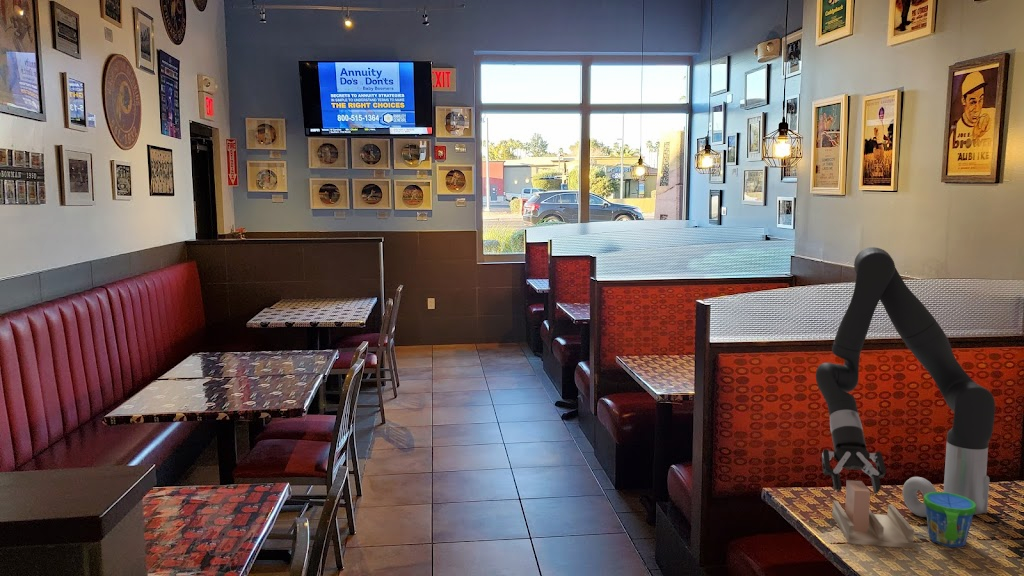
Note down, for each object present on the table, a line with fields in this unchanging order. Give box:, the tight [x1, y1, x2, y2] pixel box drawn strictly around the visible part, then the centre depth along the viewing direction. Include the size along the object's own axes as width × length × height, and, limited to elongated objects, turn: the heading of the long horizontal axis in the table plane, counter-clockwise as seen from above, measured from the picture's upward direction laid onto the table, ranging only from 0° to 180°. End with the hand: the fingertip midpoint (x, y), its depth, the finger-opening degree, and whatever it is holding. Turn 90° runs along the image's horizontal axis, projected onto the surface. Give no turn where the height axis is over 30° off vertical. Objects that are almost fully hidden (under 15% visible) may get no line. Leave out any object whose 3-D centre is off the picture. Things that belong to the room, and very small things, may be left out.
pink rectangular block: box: [844, 479, 871, 532], centre depth 182 cm, size 4×7×10 cm, turn 171°
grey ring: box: [902, 476, 938, 518], centre depth 191 cm, size 10×4×10 cm, turn 18°
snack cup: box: [923, 491, 976, 548], centre depth 176 cm, size 16×10×10 cm
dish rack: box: [831, 500, 915, 549], centre depth 182 cm, size 14×16×4 cm
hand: (858, 491), depth 183 cm, fingers open, 8 cm apart
